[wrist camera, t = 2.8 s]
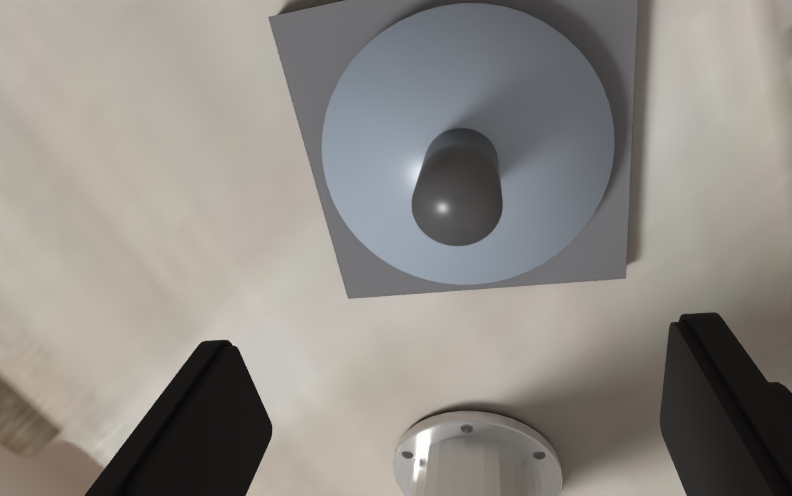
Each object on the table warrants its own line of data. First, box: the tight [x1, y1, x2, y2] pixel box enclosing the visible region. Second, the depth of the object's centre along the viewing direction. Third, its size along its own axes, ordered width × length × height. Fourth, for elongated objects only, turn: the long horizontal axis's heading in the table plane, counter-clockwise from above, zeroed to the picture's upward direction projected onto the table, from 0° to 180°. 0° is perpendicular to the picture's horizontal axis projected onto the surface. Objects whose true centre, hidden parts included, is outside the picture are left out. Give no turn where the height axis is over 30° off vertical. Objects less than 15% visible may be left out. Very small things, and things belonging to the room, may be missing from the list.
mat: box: [268, 0, 638, 299], centre depth 24 cm, size 16×16×1 cm
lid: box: [322, 3, 615, 285], centre depth 21 cm, size 14×14×6 cm
